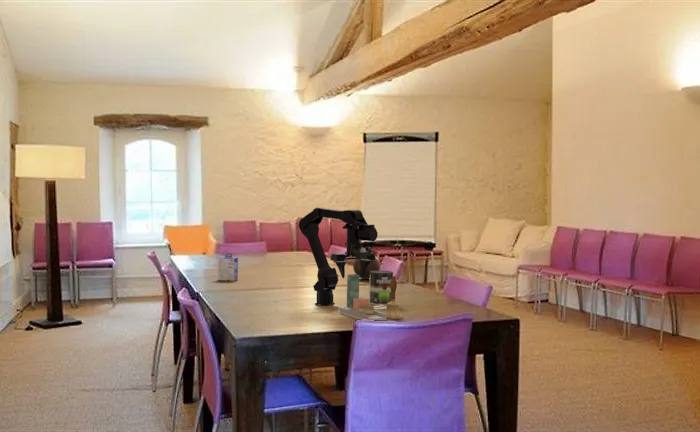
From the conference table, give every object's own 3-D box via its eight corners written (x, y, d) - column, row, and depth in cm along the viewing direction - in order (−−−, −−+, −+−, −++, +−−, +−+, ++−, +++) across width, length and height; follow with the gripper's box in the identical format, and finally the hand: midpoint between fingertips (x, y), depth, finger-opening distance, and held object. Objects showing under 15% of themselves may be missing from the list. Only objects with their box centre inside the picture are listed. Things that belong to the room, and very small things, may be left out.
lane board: (339, 313, 271) (339, 307, 271) (379, 309, 281) (379, 303, 281) (366, 322, 254) (366, 315, 254) (407, 317, 263) (407, 311, 263)
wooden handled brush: (401, 315, 269) (402, 275, 269) (404, 319, 261) (404, 277, 260) (381, 315, 269) (381, 274, 269) (382, 318, 261) (383, 277, 260)
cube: (353, 309, 266) (353, 297, 266) (363, 308, 269) (363, 297, 268) (359, 311, 262) (359, 299, 262) (369, 310, 265) (369, 298, 265)
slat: (343, 310, 271) (344, 274, 271) (357, 309, 274) (357, 274, 274) (359, 315, 260) (359, 278, 260) (373, 313, 264) (374, 277, 263)
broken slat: (365, 309, 275) (365, 306, 275) (378, 308, 278) (378, 305, 278) (375, 312, 268) (375, 309, 268) (388, 311, 272) (388, 308, 272)
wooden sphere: (382, 281, 373) (382, 253, 372) (355, 281, 371) (355, 253, 370) (377, 277, 388) (377, 251, 387) (351, 277, 386) (351, 251, 385)
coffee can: (395, 305, 293) (396, 272, 292) (373, 306, 290) (373, 273, 289) (388, 301, 303) (388, 270, 302) (366, 302, 300) (366, 270, 299)
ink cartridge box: (238, 279, 370) (238, 253, 369) (234, 281, 364) (234, 254, 364) (221, 279, 372) (221, 252, 372) (217, 280, 367) (217, 253, 366)
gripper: (343, 241, 270) (343, 281, 271) (382, 240, 279) (382, 278, 280) (330, 240, 280) (329, 277, 280) (368, 239, 289) (368, 275, 290)
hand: (352, 277), depth 282 cm, fingers open, 9 cm apart
